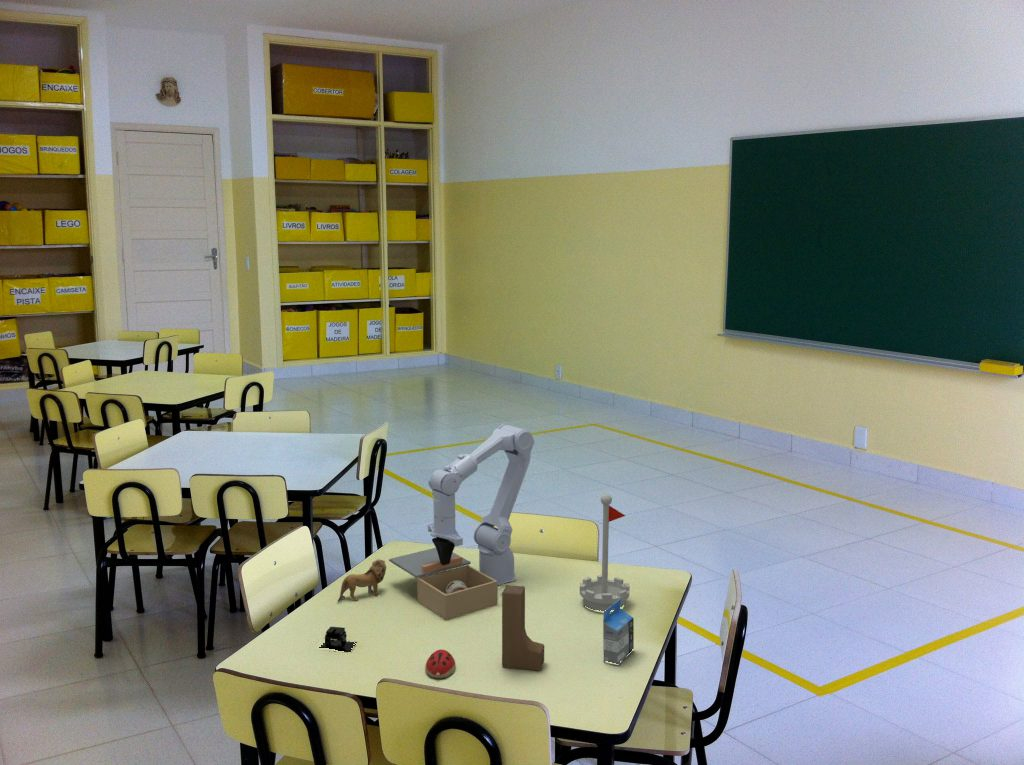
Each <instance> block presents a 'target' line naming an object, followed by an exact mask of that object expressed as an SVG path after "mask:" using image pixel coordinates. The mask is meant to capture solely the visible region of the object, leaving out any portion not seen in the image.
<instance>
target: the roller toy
mask: <svg viewBox="0 0 1024 765" xmlns="http://www.w3.org/2000/svg"><path fill="white" fill-rule="evenodd" d="M464 589H468V588H467V586H466V585H465V584H464V583H463V582H462V581H458V580H456V581H453V582H451V583H450V584H448V586H447V587H446V591H445V592H446V594H450V593H453V592H457V591H461V590H464Z"/></svg>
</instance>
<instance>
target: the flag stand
mask: <svg viewBox="0 0 1024 765" xmlns="http://www.w3.org/2000/svg"><path fill="white" fill-rule="evenodd" d="M612 501H613V497H612V495H610V494H608V493H604V494H602V495H601V496H600V502H601V504H602V507H603V508H602V511H603V512H602V548H601V549H602V554H601V558H602V559H601V575H596V577H597V578H596V579H593V580H592V578H591V577H590V576H588V577H585V578H583V579H582V582H580V583H579V596H580V597H581V598H583V599H582V601H583V602H582V603H584V605H585V606H586V607H588V608H590V609H593V610H599V611H600V610H601V611H605V610H607V609H608V608H609V607H610V606H612V605H613V604H614V603H616V602H617V601H618V600H620V599H621V604H620V607H622V606H623V605H624V604H625V605H626V601H627V599H629V597H630V587H631V586H630V584H629V582H626V583H624V579H623V578H621V577H617V576H615V577H614V578H613V580H612V579H608V578H609V577H608V575H609V572H608V570H609V536H610V535H609V533H610V532H609V530H610V529H609V527H610V526H609V525H610V522H613V521H616V520H618V519H621V518H623V517H625V516H626V515H625V514H624V513H622V512H621V511H619V510H618V509H616V508H614V507H612V506H611V504H612ZM616 596H617V597H616ZM584 605H583V606H584ZM585 606H584V607H585ZM586 607H585V608H586ZM614 609H615V608H614ZM614 609H613V608H612V610H614Z"/></svg>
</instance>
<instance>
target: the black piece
mask: <svg viewBox="0 0 1024 765" xmlns="http://www.w3.org/2000/svg"><path fill="white" fill-rule="evenodd" d="M347 637H348V636H347V631H346V627H341V626H340V627H339V626H329V628H328V629H327V630H326V632H325V635H324V639H325V643H323V645H321V647H319V648H329V649H335V650H338V651H344V652H343V653H348V652H351V650H352V649H351V648H353V646H355V645H356V644H355V643H357V642H358V641H353V642H350V641H351V640H347ZM347 641H348V642H347ZM354 642H355V643H354ZM353 644H355V645H353ZM356 646H357V645H356ZM356 646H355V647H356ZM351 653H352V652H351Z"/></svg>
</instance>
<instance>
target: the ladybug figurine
mask: <svg viewBox="0 0 1024 765" xmlns="http://www.w3.org/2000/svg"><path fill="white" fill-rule="evenodd" d="M425 663H426V664H425V672H426V674H427V675H428V676H429V675H430V676H429V677H431V678H433V677H434V679H443V678H444V677H445V678H447V677H449V676H451V675H452V674H453V673H454V672H455V670H456V667H457V665H456V660H455V658H454V656H453V655H452V654H451V653H450V651H448V650H446V649H441V648H440V649H437V650H435V651H433V653H431V654H430V655H429V657H428V659H427V661H426V662H425Z"/></svg>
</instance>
